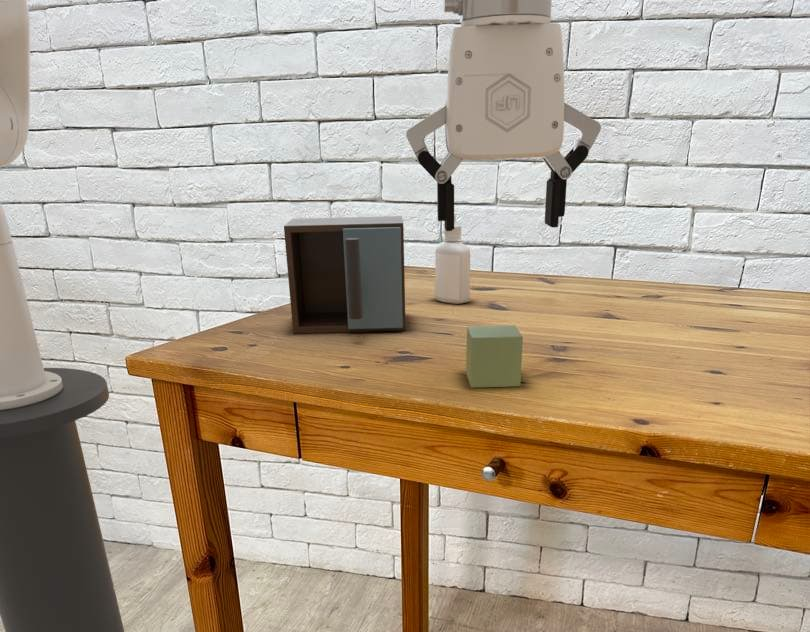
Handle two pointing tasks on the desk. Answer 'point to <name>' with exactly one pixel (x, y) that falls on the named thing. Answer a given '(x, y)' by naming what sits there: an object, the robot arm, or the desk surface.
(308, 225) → the closet
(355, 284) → the closet door
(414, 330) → the desk surface
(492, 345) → the block
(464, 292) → the eye dropper bottle
